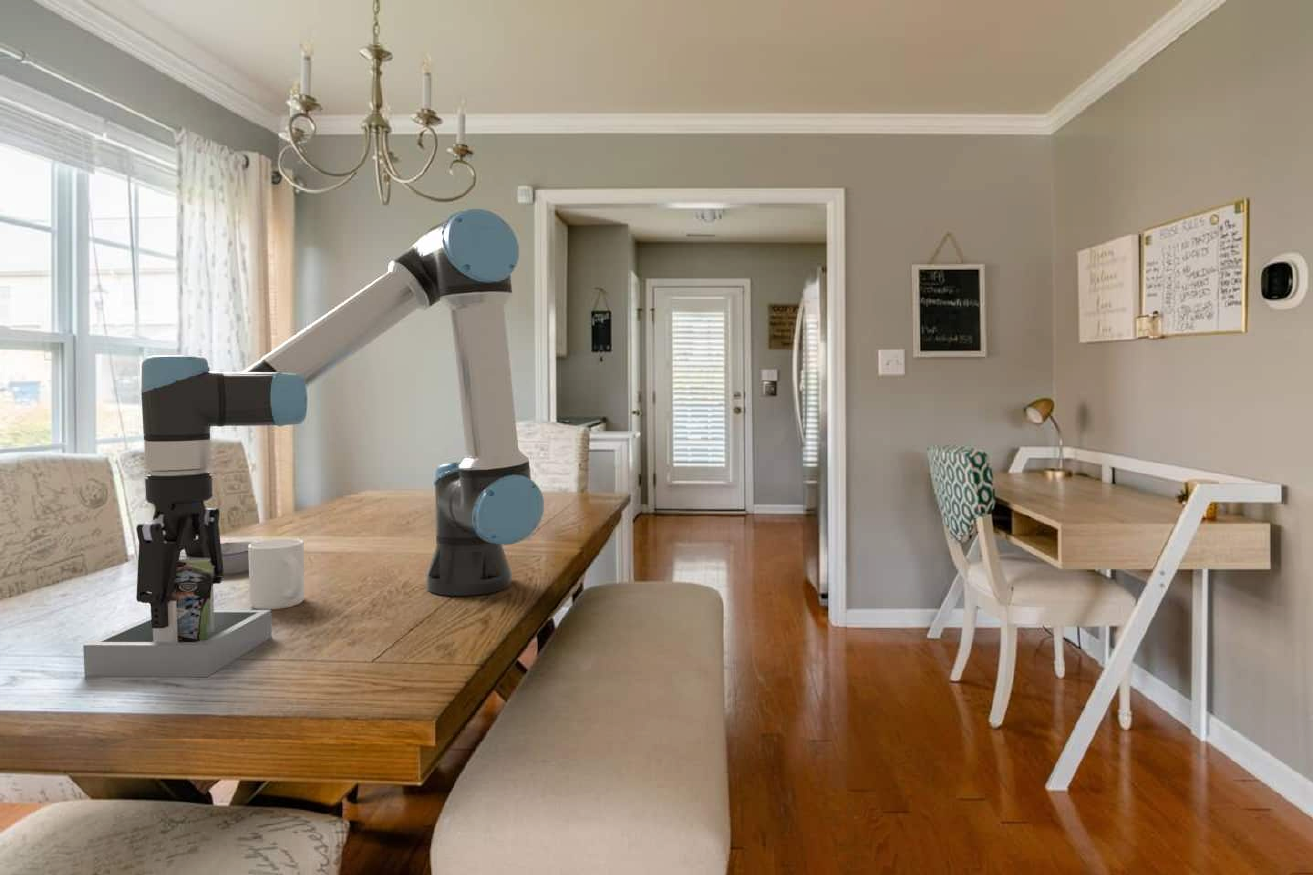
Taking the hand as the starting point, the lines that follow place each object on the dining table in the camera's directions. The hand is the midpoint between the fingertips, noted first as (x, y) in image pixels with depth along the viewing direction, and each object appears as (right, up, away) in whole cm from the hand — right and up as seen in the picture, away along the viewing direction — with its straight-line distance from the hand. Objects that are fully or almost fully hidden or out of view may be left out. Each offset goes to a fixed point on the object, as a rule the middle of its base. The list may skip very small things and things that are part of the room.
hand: (185, 640), depth 100 cm
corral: (0, -2, 0) cm, 2 cm away
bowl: (-23, +1, +49) cm, 54 cm away
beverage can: (0, -1, 0) cm, 1 cm away
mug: (+1, -1, +24) cm, 24 cm away
